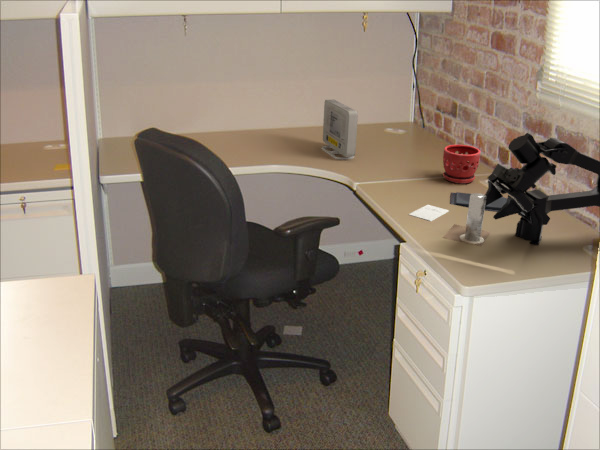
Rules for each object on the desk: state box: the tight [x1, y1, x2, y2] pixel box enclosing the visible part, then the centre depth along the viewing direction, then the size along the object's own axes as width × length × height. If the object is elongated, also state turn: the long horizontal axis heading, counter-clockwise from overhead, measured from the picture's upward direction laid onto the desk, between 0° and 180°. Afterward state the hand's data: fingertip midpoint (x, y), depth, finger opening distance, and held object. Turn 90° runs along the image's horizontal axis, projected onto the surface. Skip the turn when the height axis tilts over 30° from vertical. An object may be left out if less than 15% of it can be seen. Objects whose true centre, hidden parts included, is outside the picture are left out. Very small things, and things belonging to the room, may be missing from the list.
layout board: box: [442, 223, 491, 247], centre depth 187 cm, size 11×12×1 cm
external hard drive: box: [407, 204, 450, 222], centre depth 202 cm, size 2×8×12 cm
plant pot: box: [442, 144, 481, 184], centre depth 235 cm, size 13×13×12 cm
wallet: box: [449, 191, 508, 213], centre depth 215 cm, size 20×2×15 cm
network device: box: [320, 99, 359, 161], centre depth 262 cm, size 26×9×20 cm, turn 20°
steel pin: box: [464, 192, 487, 242], centre depth 181 cm, size 4×4×13 cm
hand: (487, 212), depth 181 cm, fingers open, 9 cm apart
